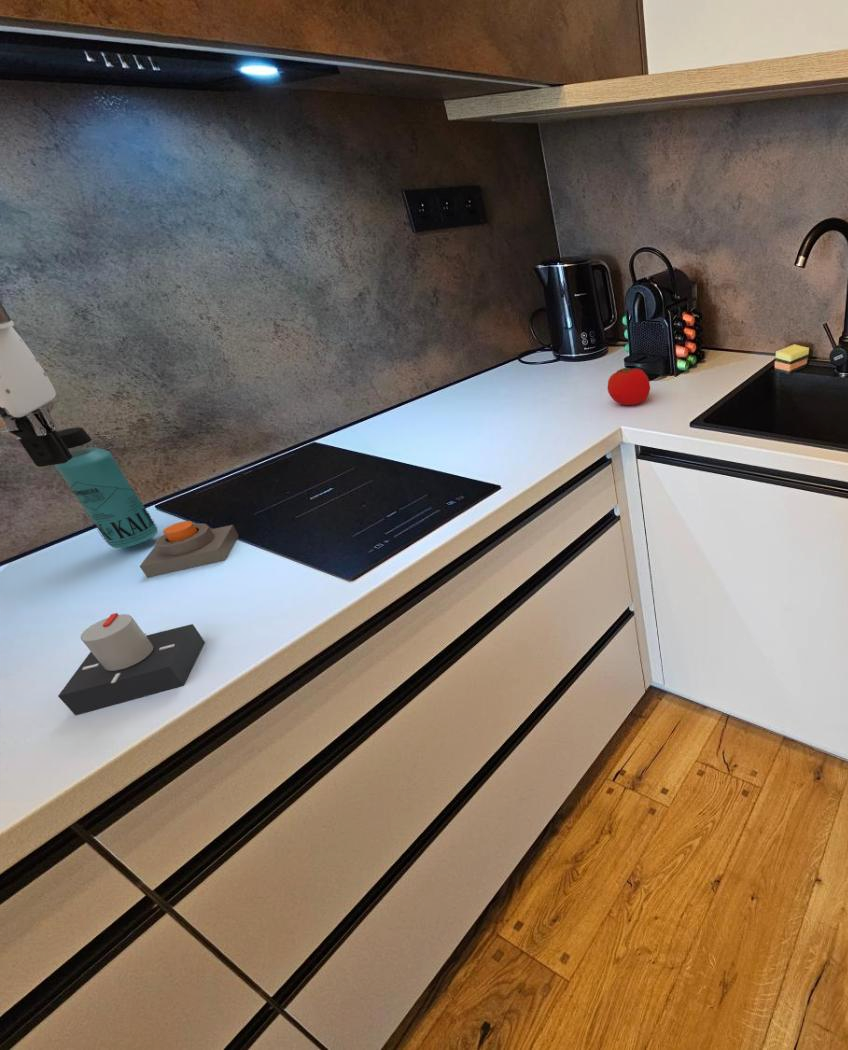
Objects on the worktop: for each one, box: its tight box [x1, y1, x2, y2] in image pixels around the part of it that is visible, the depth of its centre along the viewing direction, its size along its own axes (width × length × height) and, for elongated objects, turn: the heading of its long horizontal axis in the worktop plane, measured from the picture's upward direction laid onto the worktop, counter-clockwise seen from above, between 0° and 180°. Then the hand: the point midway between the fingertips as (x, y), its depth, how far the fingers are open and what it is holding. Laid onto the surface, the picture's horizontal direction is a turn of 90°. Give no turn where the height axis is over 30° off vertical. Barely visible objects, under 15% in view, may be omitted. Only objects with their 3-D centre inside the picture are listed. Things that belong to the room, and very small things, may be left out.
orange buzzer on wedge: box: [139, 523, 240, 579], centre depth 90 cm, size 10×8×4 cm
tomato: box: [606, 367, 651, 406], centre depth 137 cm, size 9×10×8 cm
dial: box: [80, 612, 153, 671], centre depth 65 cm, size 4×4×5 cm
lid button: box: [162, 520, 198, 542], centre depth 89 cm, size 4×4×2 cm
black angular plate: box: [57, 623, 206, 716], centre depth 67 cm, size 10×9×3 cm
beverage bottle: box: [54, 426, 158, 549], centre depth 90 cm, size 6×7×20 cm
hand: (55, 462), depth 77 cm, fingers closed
